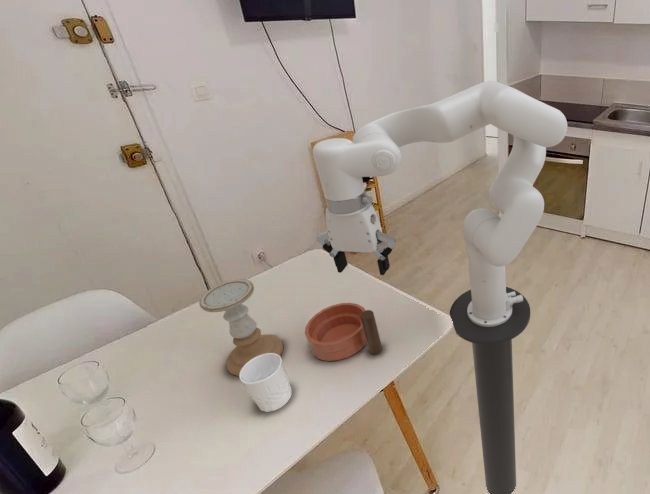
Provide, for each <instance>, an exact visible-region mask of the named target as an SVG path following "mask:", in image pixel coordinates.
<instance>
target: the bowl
mask: <svg viewBox="0 0 650 494" xmlns="http://www.w3.org/2000/svg"><path fill="white" fill-rule="evenodd" d="M364 311H366V309H365V307H364V306H362V305H360V304H358V303H355V302H340V303H336V304H333V305H332V304H331V305H330V306H327V307H325V308H323V309H321V310H320V311H318V312H316V313H315V314H314V315H313V316H312V317H311V318H310V319H309V320H308V322H307V324H306V325H305V329H304V335H305V338H306V341H307V343H308V346H309V349H310V351H311V354H312V355H313V356H314V357H316V358H317V359H318V360H322V361H325V362H331V361H332V362H333V361H340V360H343V359H347V358H349V357H351V356H354V355H355V354H356V353H358V352H359V351H361V350H362V349H363V348H364V347H365V346H366V345H367V344H368V343H367V340H366V336H365V332H364V329H363V325H362V321H361V318H360V315H361V313H362V312H364Z"/></svg>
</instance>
